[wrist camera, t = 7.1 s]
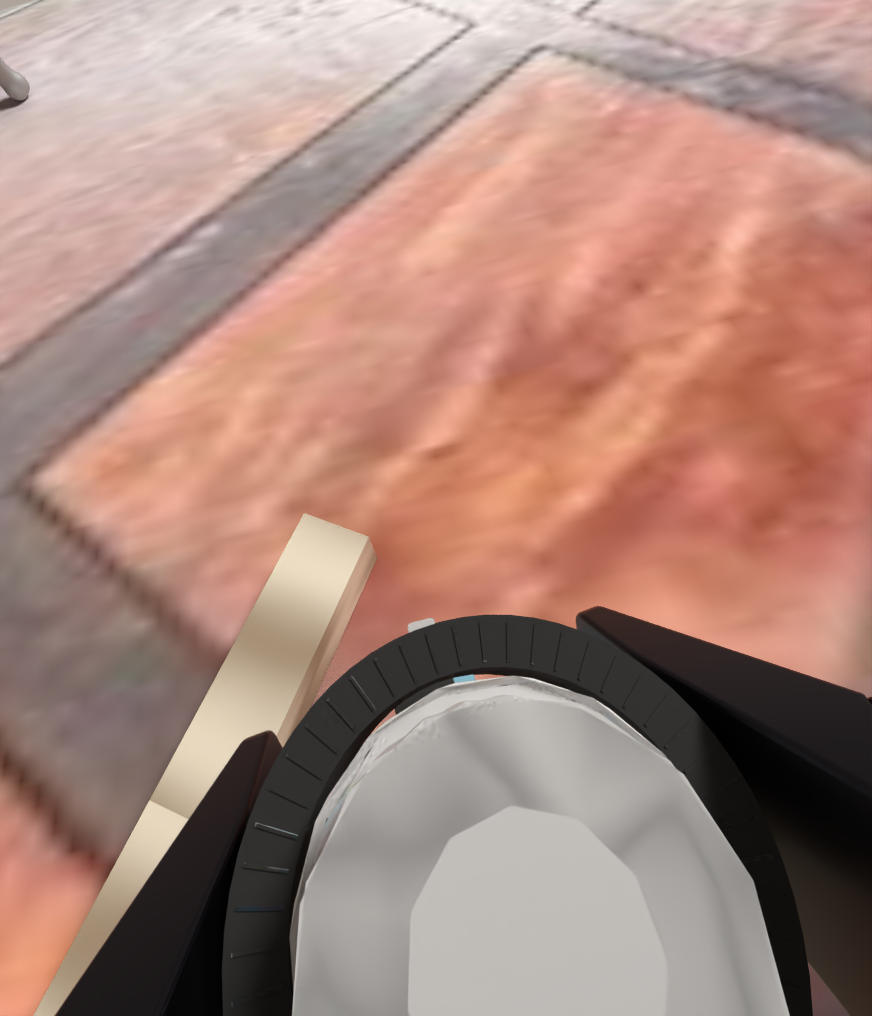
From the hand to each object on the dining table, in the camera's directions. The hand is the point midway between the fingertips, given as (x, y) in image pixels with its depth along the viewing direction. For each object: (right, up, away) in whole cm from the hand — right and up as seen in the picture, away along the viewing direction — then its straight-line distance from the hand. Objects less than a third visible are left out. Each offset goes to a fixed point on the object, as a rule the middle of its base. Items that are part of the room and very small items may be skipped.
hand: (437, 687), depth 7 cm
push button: (0, -4, +6) cm, 7 cm away
